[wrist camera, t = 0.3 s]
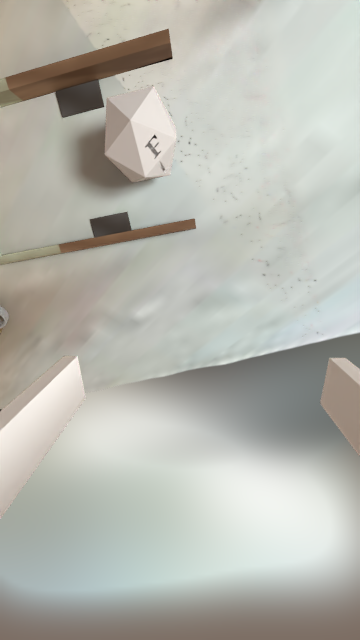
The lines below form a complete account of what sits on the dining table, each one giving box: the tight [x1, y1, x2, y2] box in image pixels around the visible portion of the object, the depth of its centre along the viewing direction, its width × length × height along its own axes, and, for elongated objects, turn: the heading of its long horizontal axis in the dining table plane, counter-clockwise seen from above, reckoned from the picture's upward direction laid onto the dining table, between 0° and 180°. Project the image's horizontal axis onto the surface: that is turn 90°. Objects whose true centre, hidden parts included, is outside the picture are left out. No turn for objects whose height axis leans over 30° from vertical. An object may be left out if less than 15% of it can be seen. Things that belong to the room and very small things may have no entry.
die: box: [105, 86, 177, 183], centre depth 28 cm, size 8×9×10 cm
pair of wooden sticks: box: [0, 29, 196, 265], centre depth 33 cm, size 21×34×2 cm, turn 100°
